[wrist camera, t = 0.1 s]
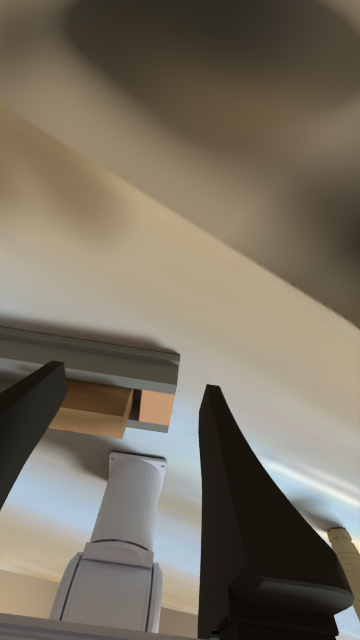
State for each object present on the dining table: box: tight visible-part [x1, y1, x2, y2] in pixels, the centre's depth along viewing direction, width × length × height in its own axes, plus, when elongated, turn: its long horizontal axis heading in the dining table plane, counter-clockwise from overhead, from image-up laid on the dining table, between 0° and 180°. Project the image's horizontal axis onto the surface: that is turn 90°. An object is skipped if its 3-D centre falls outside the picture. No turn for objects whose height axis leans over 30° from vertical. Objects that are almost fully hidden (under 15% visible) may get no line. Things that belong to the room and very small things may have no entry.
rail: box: [0, 327, 180, 433], centre depth 23 cm, size 8×22×4 cm, turn 81°
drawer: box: [48, 378, 136, 439], centre depth 22 cm, size 3×8×5 cm, turn 81°
